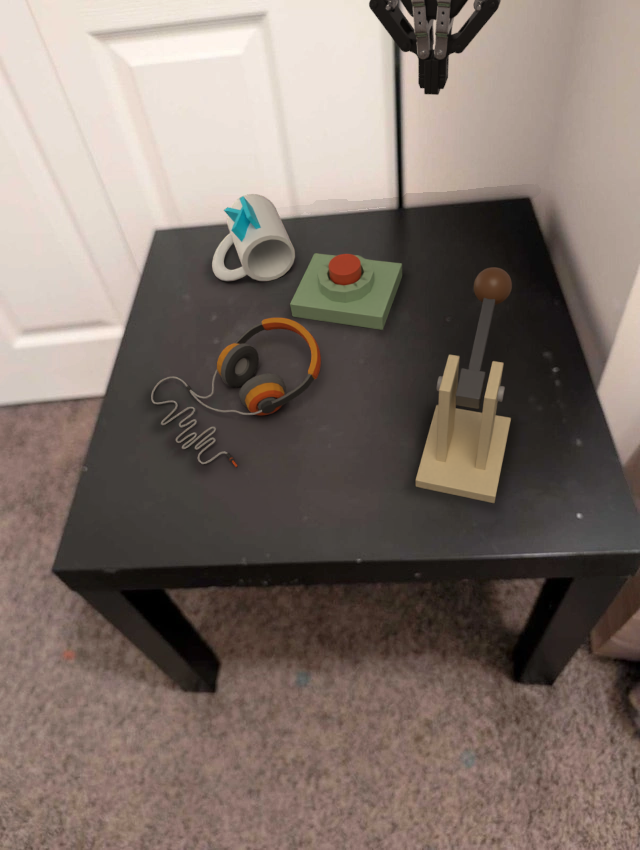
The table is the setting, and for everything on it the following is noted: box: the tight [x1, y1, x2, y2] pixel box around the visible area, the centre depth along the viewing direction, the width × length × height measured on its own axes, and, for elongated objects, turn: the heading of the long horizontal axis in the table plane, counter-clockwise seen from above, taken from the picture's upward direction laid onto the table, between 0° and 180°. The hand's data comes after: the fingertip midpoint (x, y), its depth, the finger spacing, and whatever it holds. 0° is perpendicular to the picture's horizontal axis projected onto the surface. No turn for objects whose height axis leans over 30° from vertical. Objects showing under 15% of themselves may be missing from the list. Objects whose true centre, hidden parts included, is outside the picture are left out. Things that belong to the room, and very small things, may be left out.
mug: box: [211, 193, 296, 282], centre depth 91 cm, size 12×9×12 cm
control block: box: [289, 252, 403, 331], centre depth 85 cm, size 12×10×4 cm
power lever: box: [455, 266, 513, 410], centre depth 63 cm, size 14×4×4 cm, turn 162°
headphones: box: [150, 317, 322, 468], centre depth 77 cm, size 17×5×20 cm
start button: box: [329, 253, 362, 285], centre depth 83 cm, size 4×4×2 cm
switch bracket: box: [415, 354, 512, 504], centre depth 65 cm, size 10×8×13 cm
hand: (433, 90), depth 71 cm, fingers closed
